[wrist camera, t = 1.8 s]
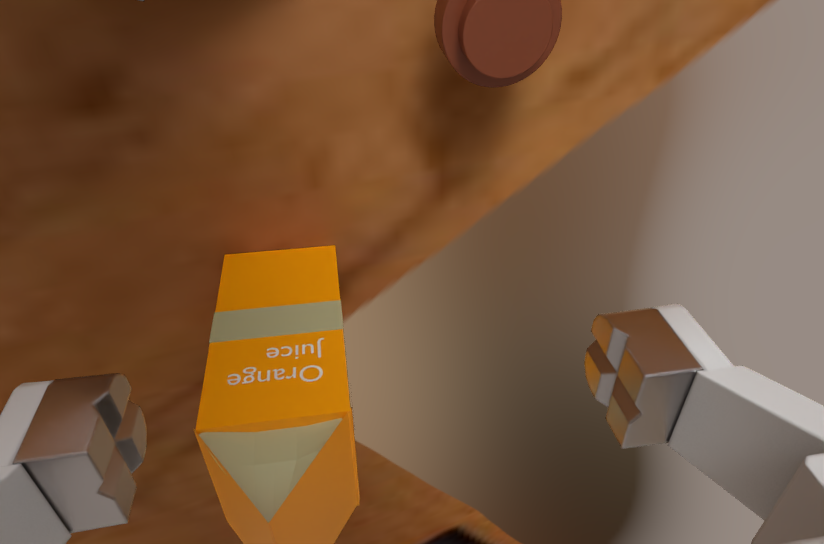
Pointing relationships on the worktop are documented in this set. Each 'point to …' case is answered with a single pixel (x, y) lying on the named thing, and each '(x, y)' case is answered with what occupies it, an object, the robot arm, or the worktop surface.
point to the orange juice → (280, 399)
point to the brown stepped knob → (497, 37)
